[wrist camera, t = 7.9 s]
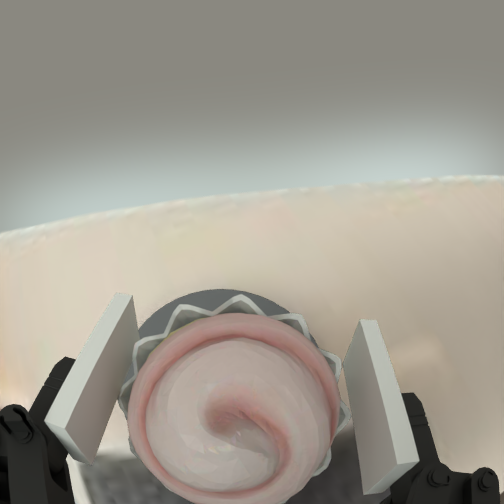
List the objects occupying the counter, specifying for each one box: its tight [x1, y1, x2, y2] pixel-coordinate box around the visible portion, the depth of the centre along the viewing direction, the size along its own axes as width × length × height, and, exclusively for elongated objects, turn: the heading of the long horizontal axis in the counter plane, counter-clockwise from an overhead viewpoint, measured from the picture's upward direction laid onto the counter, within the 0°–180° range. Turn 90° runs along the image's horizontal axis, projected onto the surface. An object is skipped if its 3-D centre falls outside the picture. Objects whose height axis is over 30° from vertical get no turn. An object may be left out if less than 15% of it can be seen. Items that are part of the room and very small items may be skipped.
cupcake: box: [117, 294, 351, 504], centre depth 11 cm, size 9×9×10 cm
